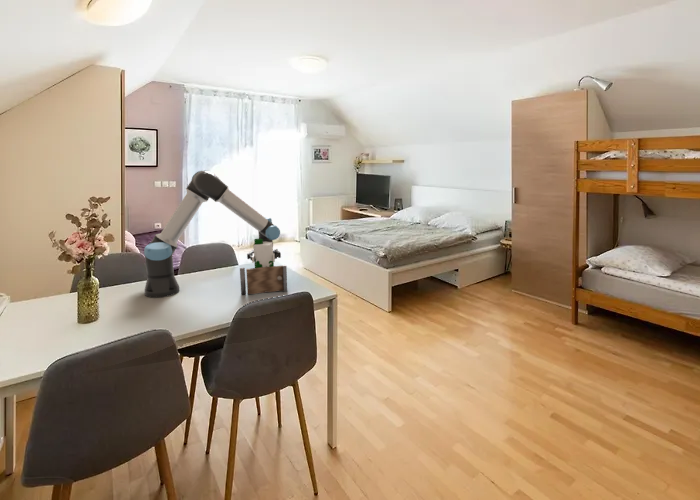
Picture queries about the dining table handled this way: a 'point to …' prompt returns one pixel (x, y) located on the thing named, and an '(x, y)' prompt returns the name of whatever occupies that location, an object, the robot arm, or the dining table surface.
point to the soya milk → (263, 253)
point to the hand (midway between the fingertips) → (263, 259)
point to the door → (264, 279)
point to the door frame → (243, 285)
